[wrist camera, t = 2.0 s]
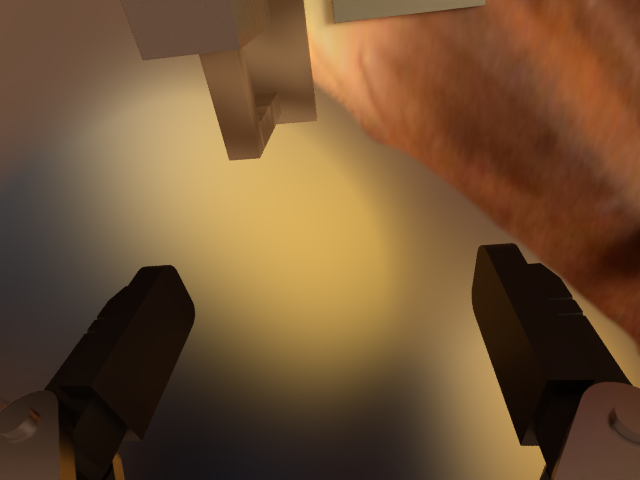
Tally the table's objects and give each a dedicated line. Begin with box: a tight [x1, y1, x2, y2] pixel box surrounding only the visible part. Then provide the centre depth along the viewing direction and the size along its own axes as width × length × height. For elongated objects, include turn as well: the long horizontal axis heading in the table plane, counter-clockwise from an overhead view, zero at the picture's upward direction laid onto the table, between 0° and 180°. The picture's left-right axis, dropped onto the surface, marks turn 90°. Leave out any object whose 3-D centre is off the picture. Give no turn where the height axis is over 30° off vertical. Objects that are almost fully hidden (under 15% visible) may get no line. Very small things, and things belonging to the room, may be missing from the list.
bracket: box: [121, 0, 272, 60], centre depth 22 cm, size 4×6×9 cm
